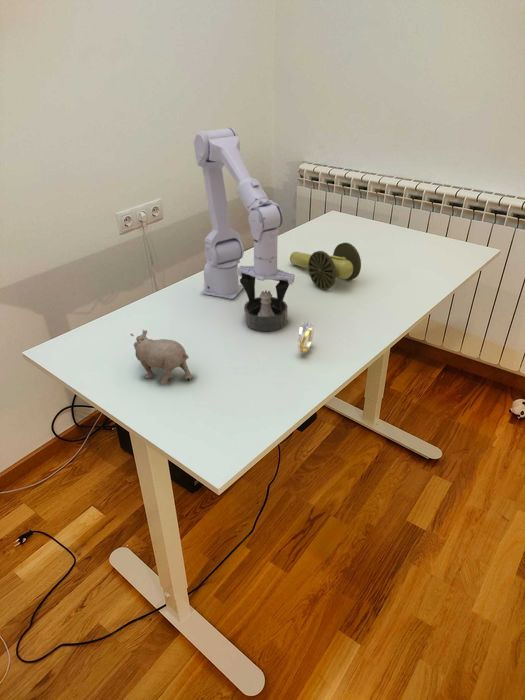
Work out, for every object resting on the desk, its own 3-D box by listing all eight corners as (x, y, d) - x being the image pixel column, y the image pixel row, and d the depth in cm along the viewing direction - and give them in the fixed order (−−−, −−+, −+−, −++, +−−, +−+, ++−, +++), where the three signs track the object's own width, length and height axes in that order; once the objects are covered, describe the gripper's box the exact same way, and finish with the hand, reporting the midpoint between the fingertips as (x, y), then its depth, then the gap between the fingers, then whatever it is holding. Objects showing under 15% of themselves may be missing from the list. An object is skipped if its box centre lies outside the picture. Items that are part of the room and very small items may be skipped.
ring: (304, 361, 117) (305, 332, 113) (292, 357, 119) (293, 328, 114) (317, 347, 122) (319, 318, 118) (306, 343, 124) (307, 315, 119)
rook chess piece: (272, 324, 130) (272, 297, 125) (256, 323, 131) (255, 295, 126) (275, 316, 133) (276, 289, 129) (259, 314, 134) (259, 287, 130)
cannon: (279, 268, 160) (280, 234, 153) (307, 258, 166) (309, 225, 159) (334, 297, 143) (337, 260, 137) (363, 285, 149) (367, 250, 143)
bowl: (238, 328, 130) (237, 313, 127) (254, 308, 138) (254, 293, 136) (278, 336, 126) (278, 320, 124) (292, 315, 135) (293, 300, 132)
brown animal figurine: (177, 390, 105) (145, 324, 103) (144, 400, 114) (115, 340, 113) (203, 375, 110) (173, 313, 108) (170, 386, 120) (143, 329, 118)
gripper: (231, 256, 121) (233, 306, 129) (288, 265, 117) (287, 316, 124) (243, 246, 126) (244, 294, 134) (297, 254, 122) (296, 303, 130)
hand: (265, 303), depth 129 cm, fingers open, 7 cm apart
